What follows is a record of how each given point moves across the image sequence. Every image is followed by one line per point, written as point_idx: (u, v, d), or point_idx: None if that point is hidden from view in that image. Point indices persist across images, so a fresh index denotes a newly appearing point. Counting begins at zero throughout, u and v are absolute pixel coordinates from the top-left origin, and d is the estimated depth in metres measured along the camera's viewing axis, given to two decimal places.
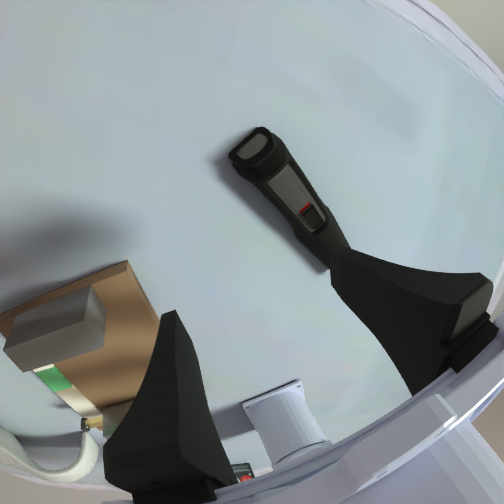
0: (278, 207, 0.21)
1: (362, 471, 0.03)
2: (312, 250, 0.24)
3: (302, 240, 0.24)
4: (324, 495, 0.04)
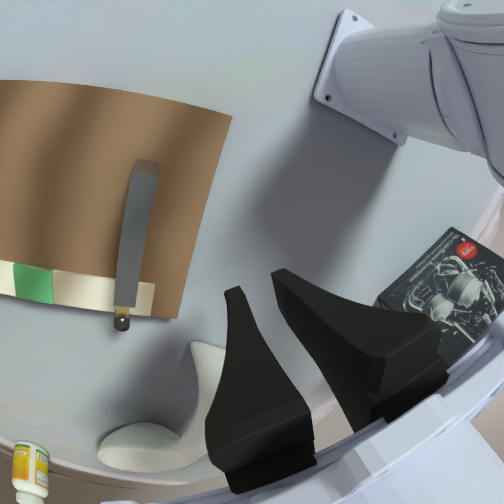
0: None
1: (362, 471, 0.03)
2: None
3: None
4: (324, 495, 0.04)
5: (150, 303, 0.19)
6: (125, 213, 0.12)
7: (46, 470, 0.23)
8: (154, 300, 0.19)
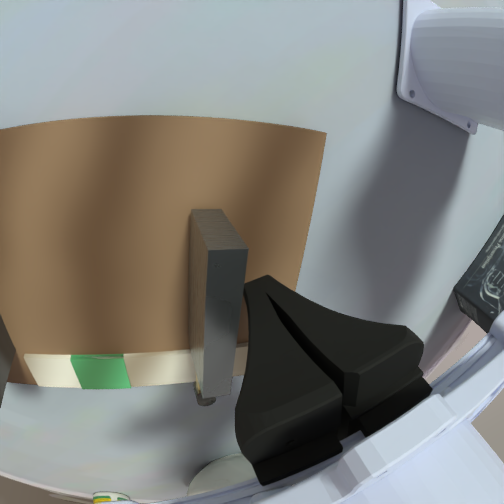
0: None
1: (362, 471, 0.03)
2: None
3: None
4: (324, 495, 0.04)
5: None
6: (206, 304, 0.09)
7: None
8: None
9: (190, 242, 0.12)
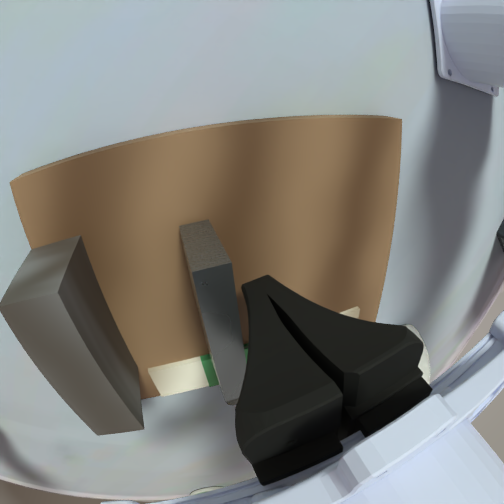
0: None
1: (362, 471, 0.03)
2: None
3: None
4: (324, 495, 0.04)
5: None
6: (204, 320, 0.09)
7: None
8: None
9: None
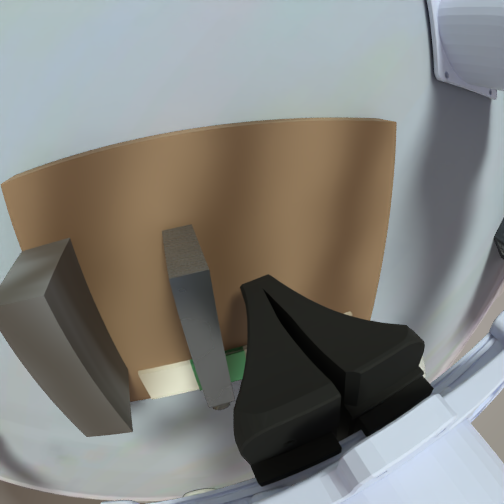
0: None
1: (362, 471, 0.03)
2: None
3: None
4: (324, 495, 0.04)
5: None
6: (183, 327, 0.09)
7: None
8: None
9: None
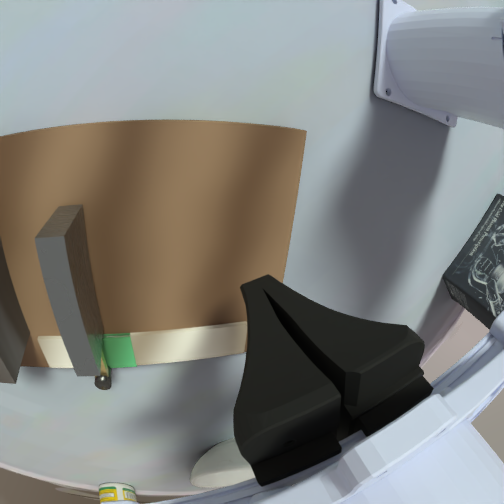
0: None
1: (362, 471, 0.03)
2: None
3: None
4: (324, 495, 0.04)
5: (243, 341, 0.18)
6: (46, 285, 0.09)
7: None
8: (246, 336, 0.19)
9: None
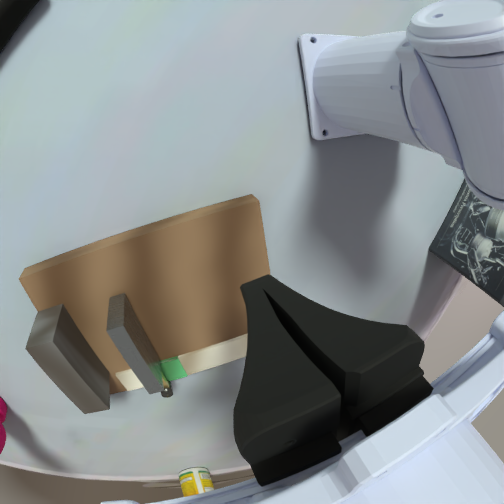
0: None
1: (362, 471, 0.03)
2: None
3: None
4: (324, 495, 0.04)
5: None
6: (120, 351, 0.17)
7: (211, 484, 0.37)
8: None
9: None
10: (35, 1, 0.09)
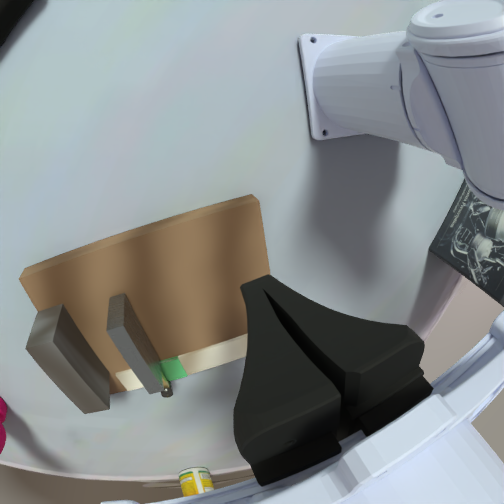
0: None
1: (362, 471, 0.03)
2: None
3: None
4: (324, 495, 0.04)
5: None
6: (120, 351, 0.17)
7: (211, 484, 0.37)
8: None
9: None
10: None
